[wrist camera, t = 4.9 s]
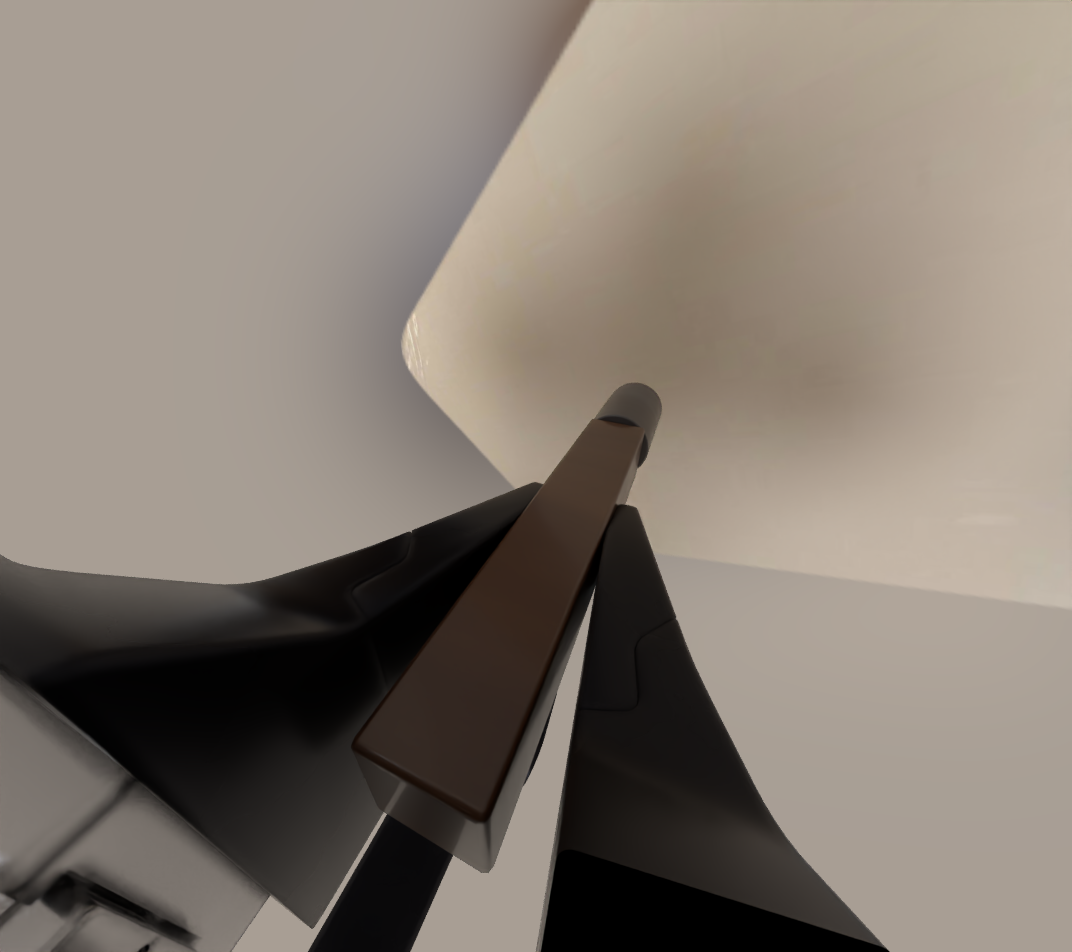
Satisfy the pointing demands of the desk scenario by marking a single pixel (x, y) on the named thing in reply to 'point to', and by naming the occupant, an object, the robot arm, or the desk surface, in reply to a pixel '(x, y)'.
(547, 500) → the brown lever handle
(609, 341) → the desk surface
